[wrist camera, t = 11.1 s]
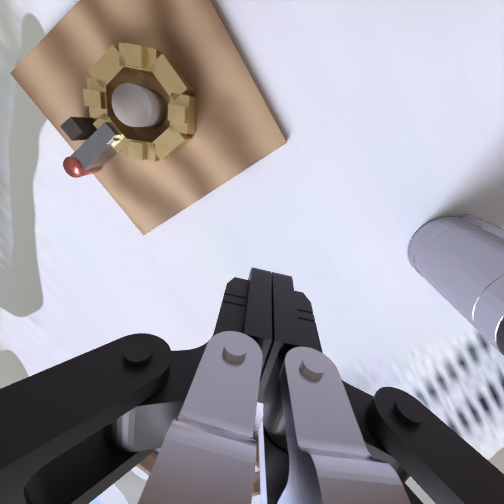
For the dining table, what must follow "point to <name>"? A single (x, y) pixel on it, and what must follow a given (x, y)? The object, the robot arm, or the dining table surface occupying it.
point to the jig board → (203, 69)
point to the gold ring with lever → (117, 133)
